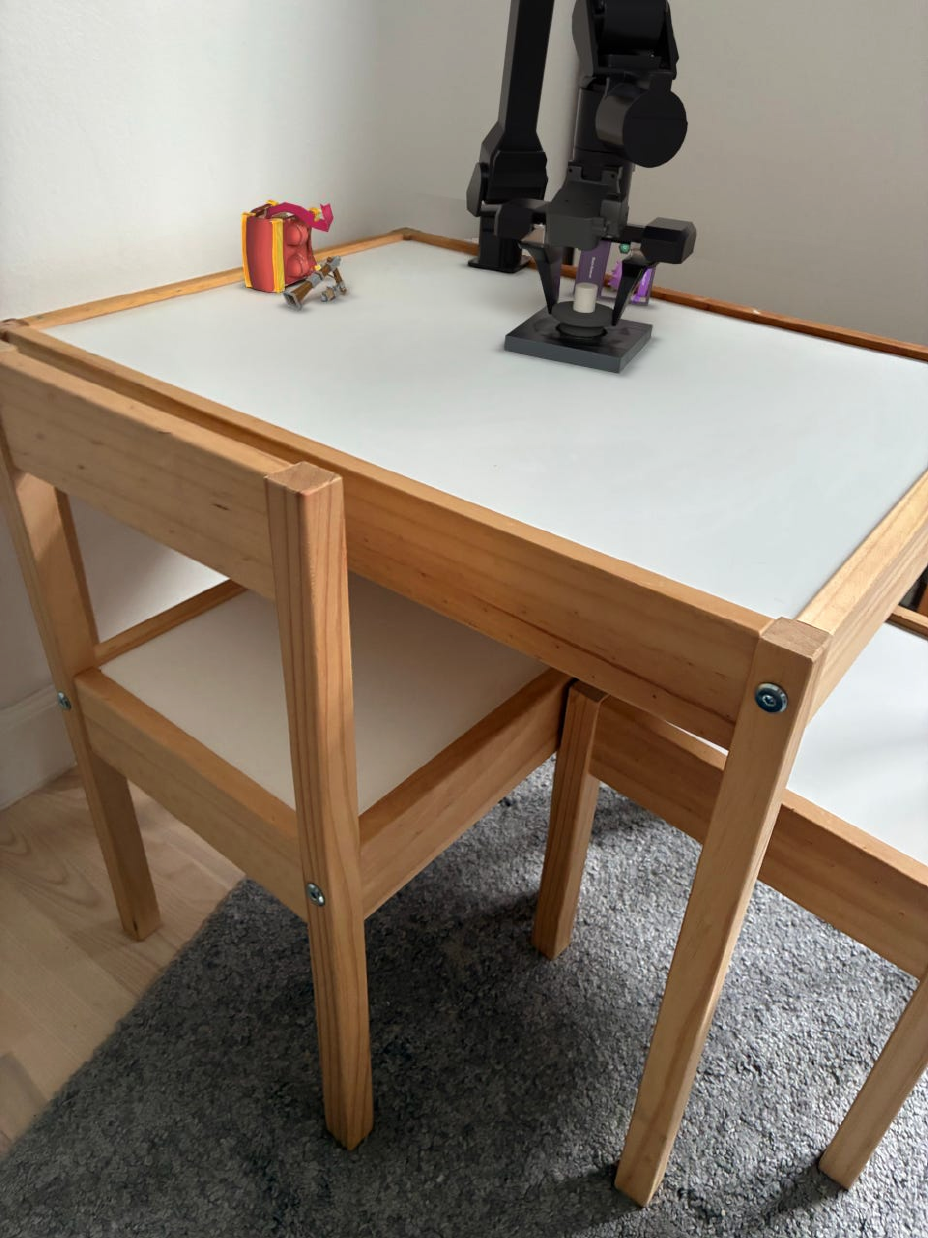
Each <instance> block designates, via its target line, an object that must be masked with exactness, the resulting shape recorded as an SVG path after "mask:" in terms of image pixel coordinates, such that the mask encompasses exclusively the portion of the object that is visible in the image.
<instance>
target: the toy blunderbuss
mask: <svg viewBox="0 0 928 1238" xmlns="http://www.w3.org/2000/svg"><path fill="white" fill-rule="evenodd" d="M325 260H326V261H324V265H323V266H322V267H321V268H320V269H319V270H318V271H317V270H316V271H314V272H315V274H314V273H312V275H311V276H310V277H309V278H306V279H305V282H303V283H302V284H301V285H299V286H297V287H296V288H295V289H292V290H291V291H287V290H284V291H282V292H281V293H282V296H283V298H284V300H285V302H286V305H287V307H289V308H292V309H293V310H297V311H299V310H300V309H301V305H300V303H301V302H302V301H303V299H304V298H305V297H306V296H307V295H308V294H309V292H310V291H312V290H315V289H316V288H317V286H320V284H322V282H324V281H325V280H326V277H328V278H332V279H334V281H335V284H336V285H332V287H331V286H328V285H326V289H325V290H323V291H321V292H320V294H321V296H320V301H322V302H326V301H327V302H330V300H331V299H333V297H337V294H336V292H338V290H339V292H340V293H343V294H346V293H347V292H348V289H347V286H346V283H345V280H344V279H343V278H342V276H341V273H340V271H339V267H340V266H341V261H342V258H341V256H340V255H331V256H327V257H326V258H325ZM331 272H332V273H331ZM330 273H331V274H332V275H331V274H330Z"/></svg>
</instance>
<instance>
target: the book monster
mask: <svg viewBox="0 0 928 1238" xmlns="http://www.w3.org/2000/svg"><path fill="white" fill-rule="evenodd" d="M319 207H320V209H319V208H318V207H316V206H311V207H309V210H308V209H306V208H305V207H303V206H302V205H299V204H294V203H291V202H288V201H283V202H281V203H280V202H279V201H276V200H274V199H268V200H266V203H265V204H262V205H260V206H258V207H254V208H253V209H251V210H250V211H249V212H248V211H244V212H242V214H241V220H240V222H241V224H240V230H241V231H240V232H241V233H240V236H241V237H240V238H241V257H242V266H243V276H244V282H245V287H246V288H247V287H248V288H252V289H254V290H258V291H262V292H266V293H278V294H280V293H282V292H284V291H286V287H287V286H289V285H292V284H293V283H296V282H298V281H301V280H306V279H307V278H309V277H310V276H311V275H312V273H314V274H315V272H314V271H316V270H317V271H318V270H319V269H320V268H322V267H321V264H318V263H317V260H316V258H315V254H314V250H313V245H312V232H313V231H312V230H313V229H314V230H317V231H320V232H325V233H329V230H330V227H331V225H332V223H333V221H334V215H333V210H332V207H331V203H330V202H329V203H327V204H326V205H323V204H322V203H319ZM288 214H291V215H288ZM321 215H322V217H323V218H321Z"/></svg>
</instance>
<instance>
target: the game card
mask: <svg viewBox="0 0 928 1238" xmlns="http://www.w3.org/2000/svg"><path fill="white" fill-rule="evenodd" d="M611 246H612V242H606V241H600V242H599V245H598V247H597V248H596V249H594V250H592V251H580V253H579V258H578V259H579V260H578V264H577V268H576V269H577V270H576V275H575V280H574V286H573V291H572V294H573V296H575V287H576V284H578V283H592V284H595V285H597V286H598V290H597V298H596V300H605V301H611V302H615V300H616V297H612V296H607V295H602V292H603V287H604V282H605V277H606V273H607V267H608V262H609V257H610V253H611ZM630 246H631V245H625V244H619V245H618V250H619V253H620V254H621V255H622V254H623V255H629V254H630V252H631V250H630ZM616 264H617V265H616V267H615V269H611V273H612V274H611V275H610V280H609V282H607V286H609V291H614V290H615V291H618V287H619V283H620V279H621V274H622V260H621V261H619V260H616ZM656 270H657V266H656V267H655V268H653V269H648V270H647V271H646V273H645V274H644V276H643V277H642V279H641V280H640V282H639V284H638V289H637V293H635V294H634V295H633V298H632V299H630V301H629V303H628V305H629V304H630V305H636V306H643V307H647V306H649V303H650V298H651V293H652V289H653V284H654V280H655V274H656ZM641 297H645V300H644V301H640V299H641Z"/></svg>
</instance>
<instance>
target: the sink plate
mask: <svg viewBox="0 0 928 1238" xmlns="http://www.w3.org/2000/svg"><path fill="white" fill-rule="evenodd" d="M653 328H654V324H651V323H645V322H640V321H635V320H630V319H625V318H620V320H619V322H618V324H617V325H616V326H612V325H611V324H609V325H605V326H604V328H603V332H602V334H600V335H597V336H590V337H589V338H584V337H583V338H579V337H576V336H575V337H574V336H571V335H570V334H567V333H565V332H563V331H562V330H561V329H560V321H558V320H556V319H554V318H553V317H552V315H550V314H549V313H548V308H547V305H545V306H544V307H542V308H540V309H539V310H538V311H537V312H536V313H534V314H532V315H531V316H530V317H529V318H527V319H526V320H524V321H523V322H522V323H520V324H519V325H518V326H516V327H515V328H513V329H512V330H511V331H509V332H507V334H506V335H504V337H505V338H504V349H503V351H506V352H507V351H508V352H513V353H517V354H521V355H526V356H533V357H537V358H542V359H546V360H551V361H557V362H561V363H566V364H572V365H577V366H581V367H587V368H590V369H591V368H592V369H596V370H601V371H606V372H612V373H615V374H620V373H621V372H622V370H623V369H624V368H625V367H627V365H628V364H629V362H631V361H632V359H633V358H635V356H636V355H637V354H638V353H639V352H640V351H641V350H642V348H643V347H644V346H645V345H646V344H647V343H648V342H649V341H650V340H651V339H652V333H653Z"/></svg>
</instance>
